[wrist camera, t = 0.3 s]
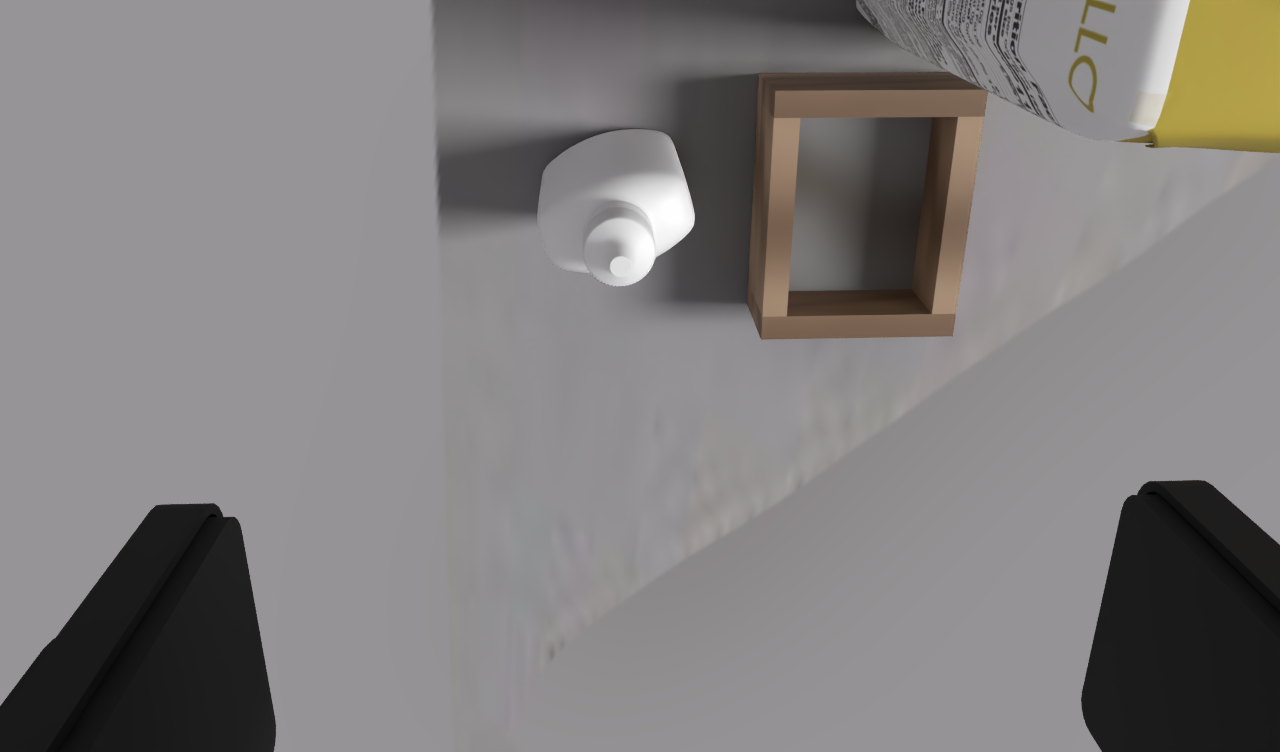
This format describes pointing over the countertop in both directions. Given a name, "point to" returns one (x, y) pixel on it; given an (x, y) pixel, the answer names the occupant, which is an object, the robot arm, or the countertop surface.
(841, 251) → the bottle holder
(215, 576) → the robot arm
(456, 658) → the countertop surface
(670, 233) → the eye dropper bottle
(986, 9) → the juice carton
